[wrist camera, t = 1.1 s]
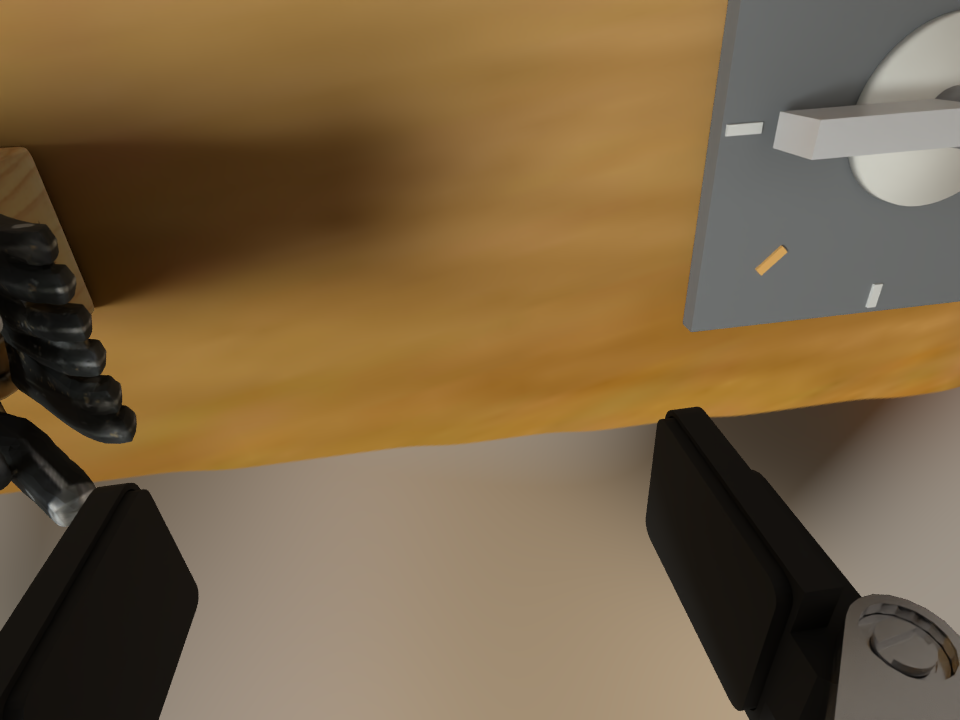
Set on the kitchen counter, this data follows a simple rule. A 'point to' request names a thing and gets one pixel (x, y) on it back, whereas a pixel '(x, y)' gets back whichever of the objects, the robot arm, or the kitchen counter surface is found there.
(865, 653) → the robot arm
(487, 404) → the kitchen counter surface
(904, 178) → the dial
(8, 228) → the knife block
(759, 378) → the kitchen counter surface
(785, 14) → the dial board
